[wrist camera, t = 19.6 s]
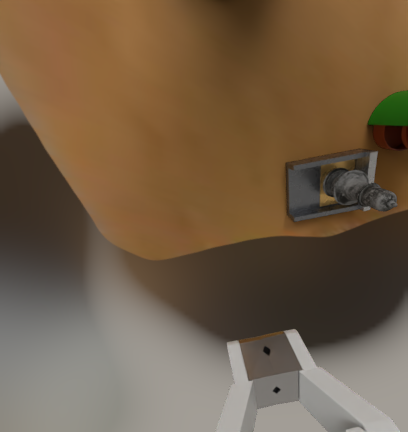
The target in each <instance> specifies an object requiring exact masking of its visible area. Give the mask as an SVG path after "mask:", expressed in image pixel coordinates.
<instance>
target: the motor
mask: <svg viewBox="0 0 408 432" xmlns="http://www.w3.org/2000/svg"><path fill="white" fill-rule="evenodd" d="M368 125H374V128H373V137H374V140H375V142H376V144H377V145H378V146H380V147H381V148H384V149H391V150H399V151H400V150H406V149H408V90H407V91H400V92H397V93H394V94H392V95H390V96H388V97H387V98H386V99H384V100H383V101H382V102H381V103H380V104H379V105H378V106H377V107H376V109H375V110H374V111H373V113H372V115H371V117H370V119H369V121H368ZM395 126H396V127H395Z"/></svg>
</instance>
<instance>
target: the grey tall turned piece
mask: <svg viewBox="0 0 408 432" xmlns="http://www.w3.org/2000/svg"><path fill="white" fill-rule="evenodd" d="M323 191H324V192H325V194H326V195H328V196H330V197H334V198H335V200H336V201H337V202H338V203H339V204H342V205H351V204H354V203H356V202H358V204H359V205H361V206H363V207H368V206H369V207H372V208H374V209H376V210H378V211H388V210H390V209H392V208H393V207H397V203H396V202H397V197H396V195H395V194H394V193H393V192H391V191H388V190H385V189H382V188H380V186H379V185H378V184H376V183H369V179H368V177H367V175H366V174H365V173H364V172H362V171H360V170H351V171H349V170H347V169H345V168H336V169H334V170H332V171H331V172H329V173H328V175H327V176H326V177H325V179H324V182H323Z"/></svg>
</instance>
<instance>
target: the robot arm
mask: <svg viewBox="0 0 408 432" xmlns="http://www.w3.org/2000/svg"><path fill="white" fill-rule="evenodd" d="M227 348H228V353H229V358H230V363H231V369H232V374H233V379H234V384H232V385H231V386H230V389H229V392H228V395H227V398H226V401H225V404H224V407H223V410H222V413H221V416H220V419H219V422H218V425H217V428H216V431H215V432H253V430H254V425H255V420H256V415H257V409H259V408H264V407H268V406H272V405H276V404H282V403H288V402H294V401H299V402H300V403H301V404H302V405H303V406H304V407H305V408H306V409H307V410H308V411H309V412H310V413H311V415H312V416H313V417H314V418H315V419H316V420H317V421H318V422H319V423H320V424H321V425H322V426H323V427H324V428H325V429H326V430H327V431H328V432H400V431H399V429H398V428H397V426H396V425H395V424H394V422H393V421H392V419H391V418H389V417H388V416H387V415H385V414H384V413H383V412H381V411H380V410H379V409H377V408H376V407H374V406H373V405H372V404H370V403H369V402H368V401H366V400H365V399H364V398H362V397H361V396H359V395H358V394H357V393H355V392H354V391H353V390H352V389H350V388H349V387H347V386H346V385H345V384H343V383H342V382H341V381H339V380H338V379H337V378H335V377H334V376H333V375H331V374H330V373H328V372H327V371H326V370H325V369H323V368H322V367H317V366H316V364H315V363H314V361H313V359H312V357H311V355H310V353H309V352H308V350H307V348H306V346H305V344H304V342H303V341H302V339H301V338H300V335H299V333H298V332H297V330H295V329H292V330H287V331H281V332H276V333H271V334H267V335H263V336H259V337H254V338H248V339H242V340H236V341H231V342H227Z"/></svg>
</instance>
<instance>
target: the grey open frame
mask: <svg viewBox="0 0 408 432" xmlns="http://www.w3.org/2000/svg"><path fill="white" fill-rule="evenodd" d="M377 154H378V151H372V150H365V149H355V150H350V151H344V152H339V153H334V154H329V155H324V156H318V157H313V158H308V159H303V160H298V161H292V162H287V163H286V192H287V216H288V217H290V218H291V219H292V220H293V221H294V222H296V221H301V220H306V219H311V218H316V217H321V216H327V215H332V214H337V213H342V212H347V211H352V210H357V209H360V210H362V211H367V210H370V207H369V206H368V207H363V206H361V205H359V204H358V202H356V203H354V204H351V205H342V204H339V203H338V202H337V201H336V200H335V198H334V197H330V196H328V195H326V194H325V192H324V191H323V182H324V179H325V177H326V176H327V175H328V173H329V172H331V171H332V170H334V169H336V168H345V169H347V170H349V171H351V170H360V171H362V172H364V173H365V174H366V175H367V177H368V179H369V183H374V177H375V169H376V162H377Z"/></svg>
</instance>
